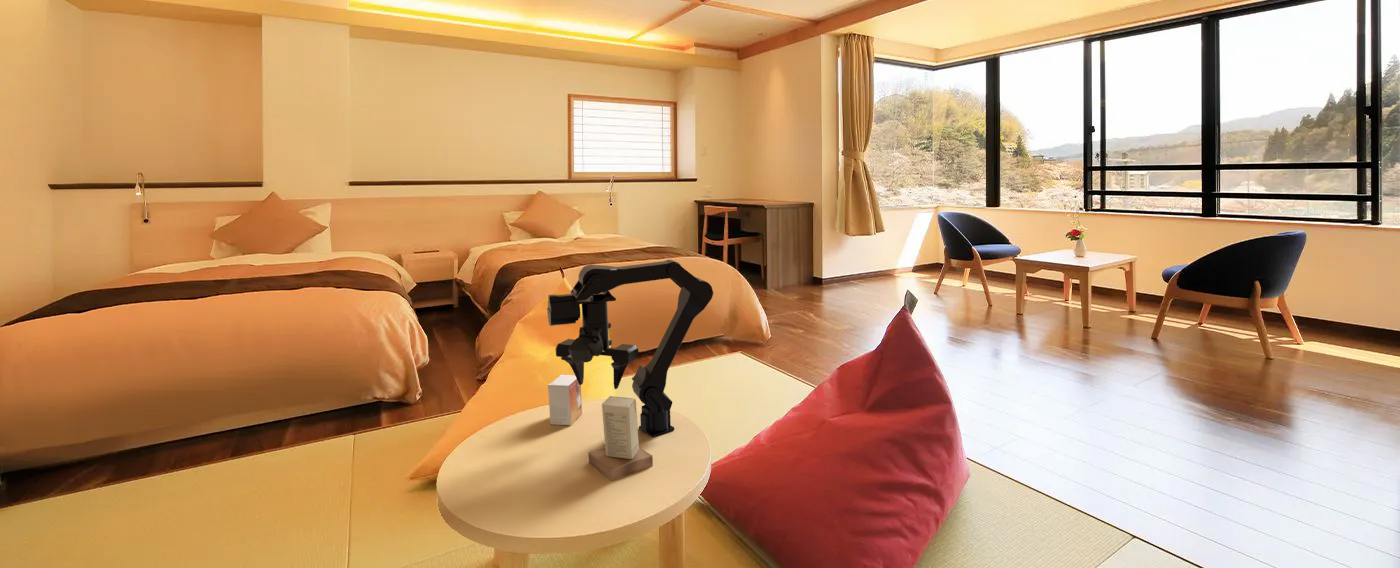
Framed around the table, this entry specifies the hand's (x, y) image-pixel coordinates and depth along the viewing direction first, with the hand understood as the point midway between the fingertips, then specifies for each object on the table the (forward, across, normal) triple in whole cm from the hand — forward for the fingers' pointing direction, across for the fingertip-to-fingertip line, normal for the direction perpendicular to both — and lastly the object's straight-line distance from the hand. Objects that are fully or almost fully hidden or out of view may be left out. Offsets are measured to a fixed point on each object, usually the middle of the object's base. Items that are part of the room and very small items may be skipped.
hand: (598, 386), depth 147 cm
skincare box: (+11, +11, -10) cm, 18 cm away
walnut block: (+14, +10, -10) cm, 20 cm away
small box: (+13, -14, +8) cm, 21 cm away
